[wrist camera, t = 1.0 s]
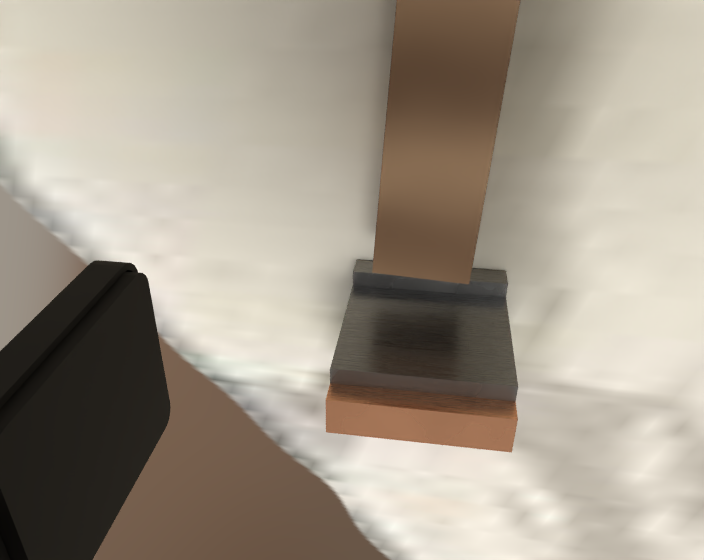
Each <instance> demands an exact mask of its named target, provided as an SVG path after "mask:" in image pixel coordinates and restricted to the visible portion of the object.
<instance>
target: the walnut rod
mask: <svg viewBox="0 0 704 560" xmlns="http://www.w3.org/2000/svg"><path fill="white" fill-rule="evenodd" d="M519 5H520V0H397V3H396V15H395V26H394V37H393V48H392V59H391V70H390V81H389V92H388V103H387V114H386V125H385V136H384V147H383V158H382V169H381V180H380V192H379V203H378V214H377V225H376V236H375V247H374V258H373V269H372V273H380V274H388V275H396V276H404V277H412V278H421V279H429V280H437V281H445V282H453V283H462V284H469V282H470V276H471V271H472V265H473V260H474V254H475V249H476V243H477V238H478V232H479V226H480V221H481V215H482V210H483V204H484V199H485V193H486V188H487V182H488V177H489V171H490V166H491V160H492V154H493V149H494V143H495V138H496V132H497V127H498V121H499V116H500V110H501V105H502V99H503V93H504V88H505V82H506V77H507V71H508V66H509V60H510V55H511V49H512V44H513V38H514V33H515V27H516V21H517V16H518V10H519Z"/></svg>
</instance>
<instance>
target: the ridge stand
mask: <svg viewBox="0 0 704 560" xmlns="http://www.w3.org/2000/svg"><path fill="white" fill-rule="evenodd" d="M372 269H373V261H368V260H356V264H355V268H354V271H353V287H352V291H351V294H350V298H349V302H348V305H347V309H346V313H345V316H344V320H343V324H342V327H341V331H340V335H339V338H338V342H337V346H336V349H335V353H334V357H333V360H332V364H331V368H330V386H329V390H328V394H327V397H326V432H329V433H338V434H347V435H357V436H366V437H375V438H384V439H394V440H403V441H412V442H421V443H431V444H440V445H449V446H458V447H468V448H477V449H486V450H495V451H505V452H512V447H513V442H514V437H515V432H516V426H517V421H518V418H517V410H516V402H515V401H516V395H517V390H518V382H517V375H516V368H515V361H514V353H513V346H512V339H511V332H510V324H509V317H508V310H507V303H506V293H507V286H508V282H507V275H506V271H498V270H485V269H472V271H471V276H470V282H469V284H462V283H453V282H445V281H437V280H429V279H421V278H412V277H404V276H396V275H388V274H380V273H372Z"/></svg>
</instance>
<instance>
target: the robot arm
mask: <svg viewBox="0 0 704 560" xmlns="http://www.w3.org/2000/svg"><path fill="white" fill-rule="evenodd" d="M169 416H170V400H169V395H168V390H167V384H166V378H165V373H164V367H163V361H162V356H161V350H160V344H159V339H158V333H157V327H156V322H155V316H154V311H153V305H152V299H151V294H150V288H149V283H148V279H147V277H146V275H145V274H143V273H138V271H137V269H136V267H135V265H133V264H132V263H123V262H111V261H93V262H92V263H90V264H89V265H88V266H87V267H86V268H85V269H84V270H83V271H82V272H81V273H80V274H79V275H78V276H77V277H76V278H75V279H74V280H73V281H72V282H71V283H70V284H69V285H68V286H67V287H66V288H65V289H64V290H63V291H62V292H61V293H59V294H58V295H57V296H56V297H55V298H54V299H53V300H52V301H51V302H50V304H48V305H47V306H46V307H45V308H44V309H43V310H42V311H41V312H40V313H39V314H38V315H37V316H36V317H35V318H34V319H33V320H32V321H31V322H30V323H29V324H28V325H27V326H26V327H25V328H24V329H23V330H22V331H21V332H20V333H19V334H17V335H16V336H15V337H14V338H13V339H12V340H11V341H10V342H9V343H8V344H7V345H6V346H5V347H4V348H3V349H2V350H1V351H0V560H93V558H94V556H95V554H96V552H97V551H98V549H99V547H100V545H101V543H102V542H103V540H104V538H105V536H106V534H107V533H108V531H109V529H110V527H111V525H112V523H113V522H114V520H115V518H116V516H117V515H118V513H119V511H120V509H121V507H122V506H123V504H124V502H125V500H126V498H127V496H128V495H129V493H130V491H131V489H132V488H133V486H134V484H135V482H136V480H137V479H138V477H139V475H140V473H141V471H142V470H143V468H144V466H145V464H146V462H147V461H148V459H149V457H150V455H151V453H152V452H153V450H154V448H155V446H156V444H157V443H158V441H159V439H160V437H161V435H162V434H163V432H164V430H165V428H166V426H167V423H168V420H169Z"/></svg>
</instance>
